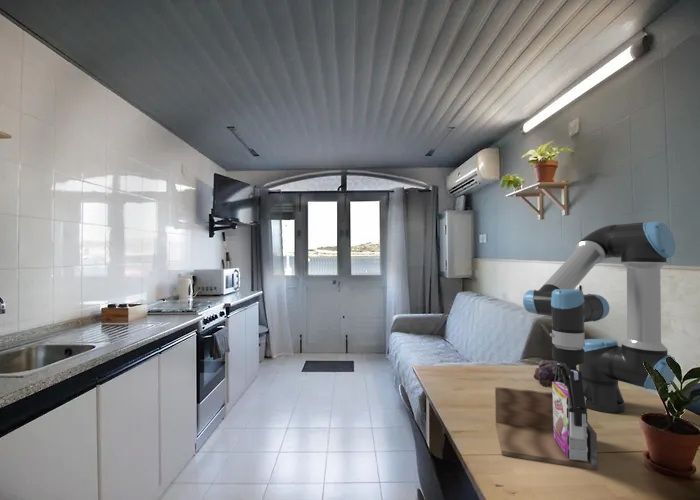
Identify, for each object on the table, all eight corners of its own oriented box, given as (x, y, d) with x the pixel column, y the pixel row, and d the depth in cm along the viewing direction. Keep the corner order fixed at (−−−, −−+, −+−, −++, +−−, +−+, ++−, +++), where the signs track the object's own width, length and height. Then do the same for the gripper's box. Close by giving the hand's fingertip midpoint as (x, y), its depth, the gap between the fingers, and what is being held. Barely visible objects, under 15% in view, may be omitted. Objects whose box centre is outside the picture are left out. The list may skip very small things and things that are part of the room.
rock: (535, 388, 145) (563, 391, 141) (534, 368, 144) (562, 371, 140) (532, 375, 156) (558, 377, 152) (532, 356, 155) (558, 358, 151)
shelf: (574, 435, 104) (574, 394, 105) (597, 470, 87) (596, 421, 87) (495, 424, 111) (495, 386, 111) (501, 455, 94) (501, 410, 94)
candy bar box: (552, 438, 100) (551, 380, 101) (571, 440, 99) (570, 382, 100) (567, 460, 89) (566, 396, 90) (589, 463, 88) (588, 397, 89)
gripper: (542, 335, 108) (543, 404, 107) (565, 357, 84) (566, 446, 84) (570, 337, 106) (571, 408, 105) (601, 360, 82) (603, 452, 81)
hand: (569, 425), depth 94 cm, fingers open, 13 cm apart
